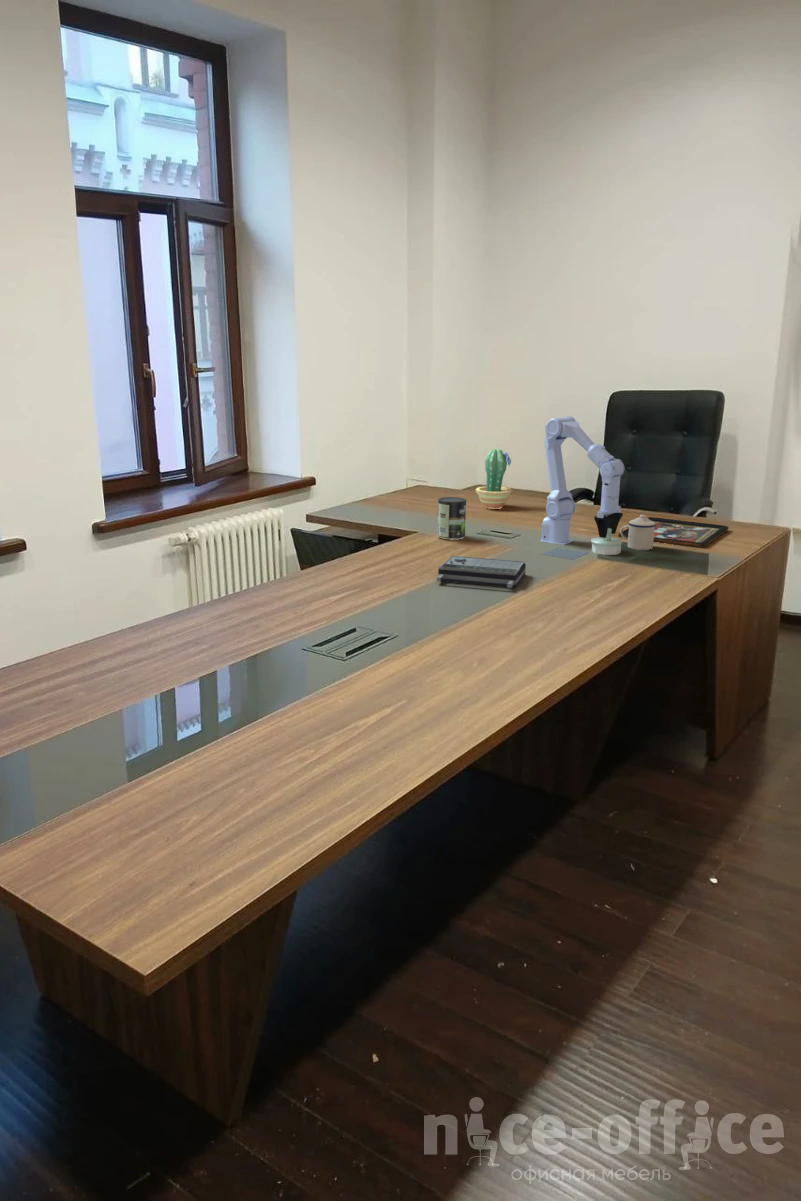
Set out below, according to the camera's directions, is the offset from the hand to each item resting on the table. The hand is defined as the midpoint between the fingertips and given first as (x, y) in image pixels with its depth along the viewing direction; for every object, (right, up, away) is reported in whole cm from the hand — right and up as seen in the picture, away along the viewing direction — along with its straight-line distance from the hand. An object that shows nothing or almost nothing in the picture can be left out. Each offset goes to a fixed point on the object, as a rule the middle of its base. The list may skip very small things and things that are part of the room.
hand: (607, 535), depth 305 cm
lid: (0, -2, +1) cm, 3 cm away
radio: (-46, -16, -31) cm, 58 cm away
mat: (-15, -6, -1) cm, 16 cm away
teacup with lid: (+12, -4, +10) cm, 16 cm away
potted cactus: (-31, +17, +77) cm, 85 cm away
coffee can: (-52, +1, +23) cm, 57 cm away
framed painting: (+32, +2, +30) cm, 44 cm away
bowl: (0, -6, +2) cm, 6 cm away
